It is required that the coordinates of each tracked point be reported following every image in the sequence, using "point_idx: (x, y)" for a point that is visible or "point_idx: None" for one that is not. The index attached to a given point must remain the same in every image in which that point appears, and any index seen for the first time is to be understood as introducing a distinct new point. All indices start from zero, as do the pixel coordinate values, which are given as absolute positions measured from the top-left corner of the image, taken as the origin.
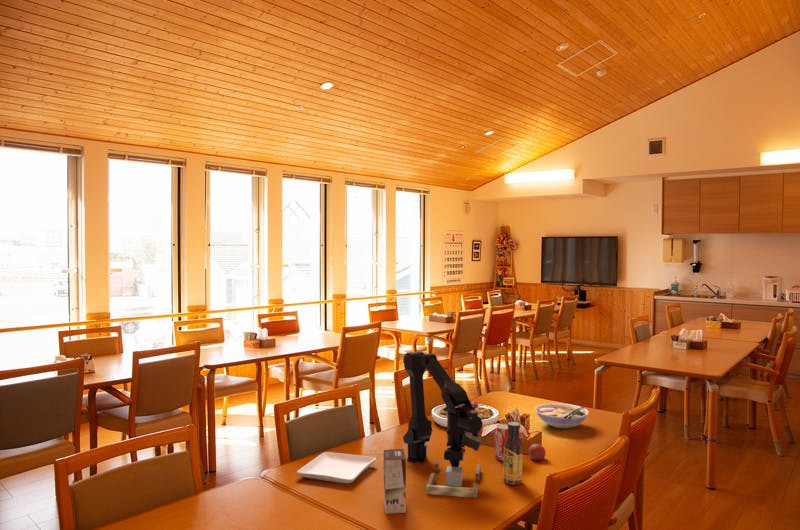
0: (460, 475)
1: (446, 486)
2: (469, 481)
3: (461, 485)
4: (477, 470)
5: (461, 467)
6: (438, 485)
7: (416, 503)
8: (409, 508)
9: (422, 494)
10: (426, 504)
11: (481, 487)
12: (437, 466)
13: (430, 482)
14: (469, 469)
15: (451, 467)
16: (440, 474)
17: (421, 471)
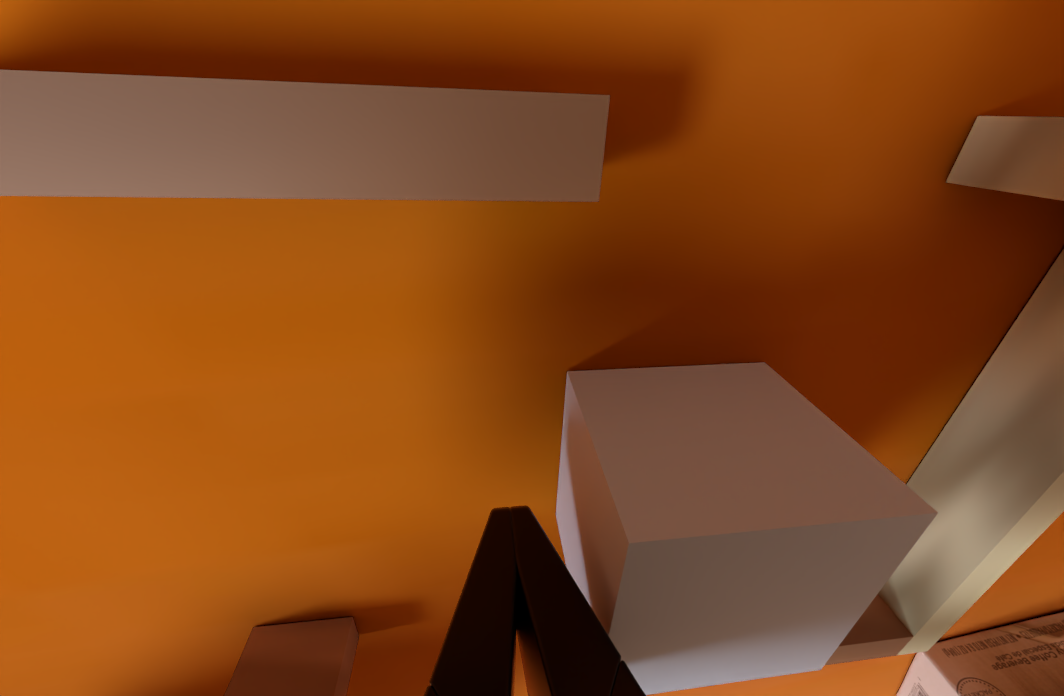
0: (883, 482)
1: (1019, 534)
2: (589, 275)
3: (755, 366)
4: (371, 153)
5: (646, 555)
6: (957, 592)
7: (996, 589)
8: (1046, 600)
9: None
10: (1044, 544)
11: (854, 39)
12: (337, 683)
13: (855, 648)
14: (29, 321)
15: (650, 663)
16: (425, 586)
17: (401, 692)
